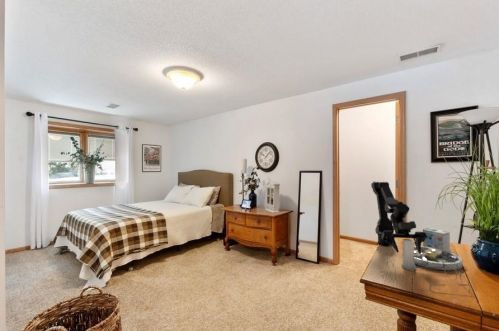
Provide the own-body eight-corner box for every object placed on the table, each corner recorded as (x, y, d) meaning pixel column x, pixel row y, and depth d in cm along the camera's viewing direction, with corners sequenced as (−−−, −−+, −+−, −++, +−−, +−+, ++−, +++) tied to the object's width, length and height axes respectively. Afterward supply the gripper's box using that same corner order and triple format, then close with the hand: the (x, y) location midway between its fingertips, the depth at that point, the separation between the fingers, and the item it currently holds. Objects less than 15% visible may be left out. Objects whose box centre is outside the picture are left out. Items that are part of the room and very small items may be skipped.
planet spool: (399, 267, 113) (398, 240, 113) (405, 264, 116) (404, 237, 116) (412, 271, 108) (411, 243, 108) (418, 268, 111) (417, 240, 111)
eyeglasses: (473, 293, 90) (473, 280, 90) (429, 290, 93) (429, 277, 93) (447, 274, 106) (447, 263, 106) (410, 272, 109) (410, 261, 109)
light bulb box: (422, 247, 138) (422, 228, 138) (429, 245, 141) (428, 227, 141) (443, 253, 128) (443, 233, 128) (450, 251, 131) (450, 231, 131)
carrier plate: (393, 258, 123) (393, 250, 123) (415, 248, 136) (415, 241, 136) (450, 276, 103) (450, 266, 103) (470, 262, 115) (470, 254, 115)
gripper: (382, 214, 119) (391, 243, 108) (424, 215, 114) (438, 245, 104) (377, 226, 126) (385, 254, 115) (417, 227, 122) (429, 256, 111)
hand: (408, 252), depth 111 cm, fingers open, 9 cm apart
